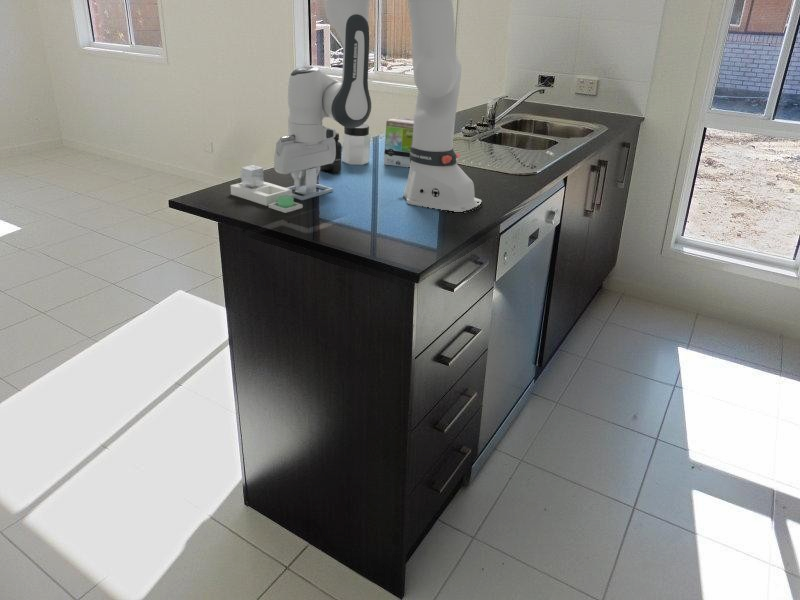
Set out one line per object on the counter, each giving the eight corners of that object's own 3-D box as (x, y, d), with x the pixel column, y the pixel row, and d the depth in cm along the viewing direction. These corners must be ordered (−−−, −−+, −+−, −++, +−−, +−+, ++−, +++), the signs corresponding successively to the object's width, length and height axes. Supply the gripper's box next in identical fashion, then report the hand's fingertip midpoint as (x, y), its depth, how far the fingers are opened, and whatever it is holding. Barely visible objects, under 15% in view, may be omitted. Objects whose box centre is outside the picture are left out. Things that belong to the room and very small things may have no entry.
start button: (297, 209, 159) (296, 198, 158) (285, 212, 156) (285, 201, 155) (285, 205, 161) (285, 194, 160) (274, 209, 158) (274, 197, 157)
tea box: (383, 165, 208) (385, 120, 202) (390, 159, 217) (393, 115, 211) (427, 170, 205) (431, 124, 199) (433, 164, 214) (437, 119, 208)
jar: (368, 159, 214) (369, 123, 209) (369, 165, 207) (371, 128, 202) (342, 158, 213) (342, 122, 208) (342, 164, 206) (343, 127, 201)
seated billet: (263, 193, 168) (263, 167, 165) (252, 196, 165) (251, 170, 162) (253, 190, 170) (252, 164, 167) (241, 193, 167) (240, 167, 164)
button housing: (302, 212, 160) (302, 204, 159) (285, 217, 155) (285, 209, 154) (285, 206, 163) (285, 199, 162) (268, 211, 158) (268, 204, 157)
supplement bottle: (337, 175, 193) (338, 136, 188) (316, 173, 194) (316, 134, 189) (343, 170, 199) (344, 132, 194) (323, 168, 200) (323, 130, 195)
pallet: (292, 202, 166) (291, 189, 164) (266, 210, 159) (266, 196, 158) (257, 192, 173) (256, 179, 171) (231, 198, 166) (230, 185, 165)
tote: (333, 195, 174) (333, 188, 173) (302, 204, 165) (302, 197, 164) (309, 188, 179) (309, 181, 178) (277, 197, 170) (277, 189, 169)
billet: (316, 192, 172) (316, 167, 169) (306, 195, 169) (305, 170, 166) (305, 189, 174) (305, 164, 171) (295, 192, 171) (294, 167, 168)
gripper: (285, 140, 155) (286, 194, 161) (339, 130, 170) (339, 180, 177) (267, 135, 159) (269, 189, 165) (322, 126, 174) (322, 175, 180)
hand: (305, 184), depth 171 cm, fingers open, 4 cm apart
